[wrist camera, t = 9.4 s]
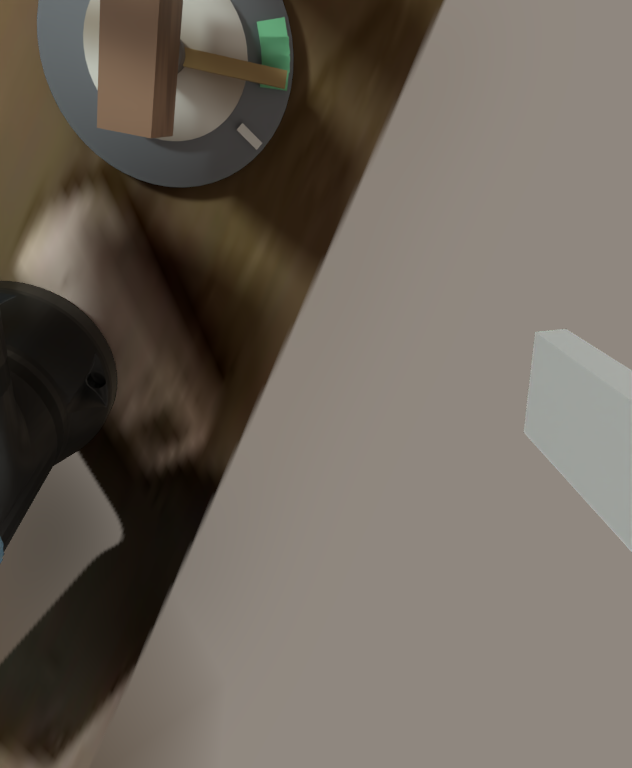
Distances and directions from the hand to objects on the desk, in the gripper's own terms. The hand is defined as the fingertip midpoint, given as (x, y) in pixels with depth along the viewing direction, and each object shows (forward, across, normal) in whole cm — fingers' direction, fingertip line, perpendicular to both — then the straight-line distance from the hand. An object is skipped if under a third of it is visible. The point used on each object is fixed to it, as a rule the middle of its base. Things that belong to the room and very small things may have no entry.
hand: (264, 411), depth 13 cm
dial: (+30, +3, -10) cm, 32 cm away
